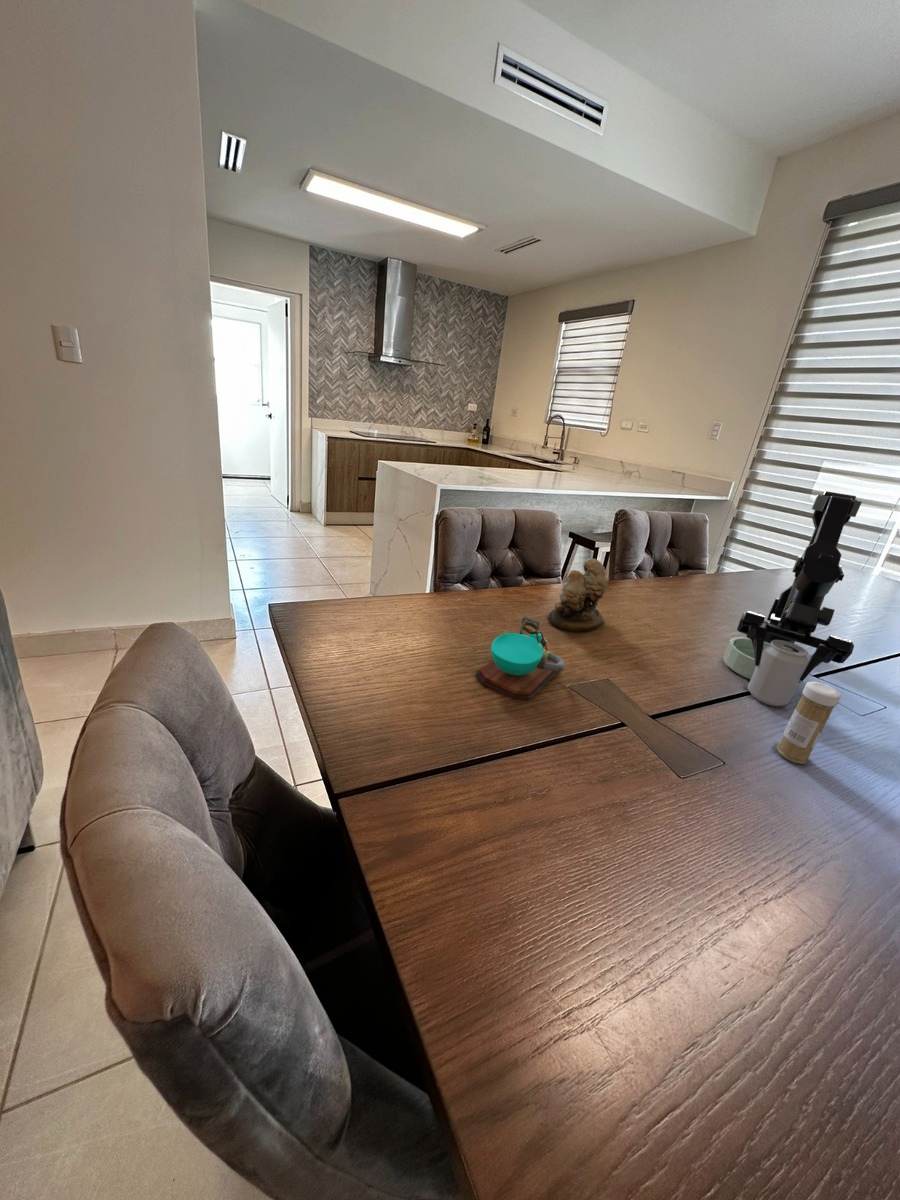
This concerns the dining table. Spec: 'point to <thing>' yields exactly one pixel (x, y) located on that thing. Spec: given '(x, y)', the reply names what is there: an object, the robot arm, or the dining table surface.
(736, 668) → the basin
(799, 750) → the sprinkles bottle
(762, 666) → the can
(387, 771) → the dining table surface
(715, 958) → the dining table surface
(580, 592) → the owl figurine
